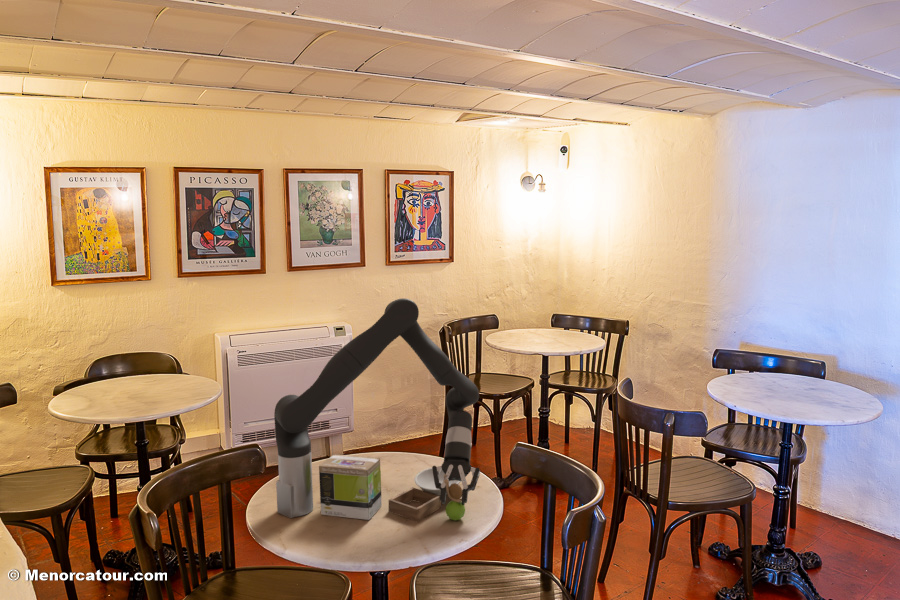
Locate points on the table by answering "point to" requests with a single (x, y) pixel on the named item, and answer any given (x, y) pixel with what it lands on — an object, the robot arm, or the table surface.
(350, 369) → the robot arm
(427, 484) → the dish
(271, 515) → the table surface
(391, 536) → the table surface
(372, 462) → the tea box
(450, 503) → the snail figurine
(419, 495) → the brown wooden square tray
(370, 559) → the table surface
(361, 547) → the table surface
